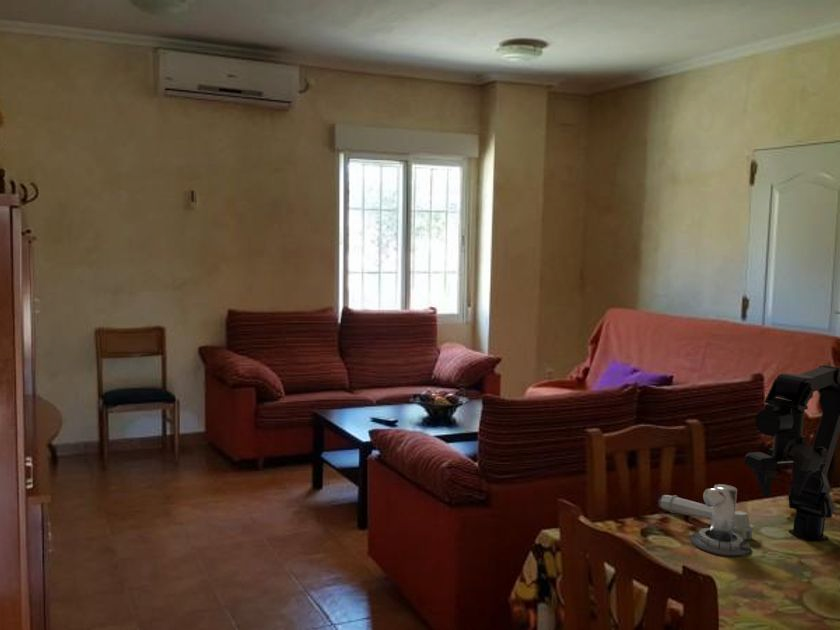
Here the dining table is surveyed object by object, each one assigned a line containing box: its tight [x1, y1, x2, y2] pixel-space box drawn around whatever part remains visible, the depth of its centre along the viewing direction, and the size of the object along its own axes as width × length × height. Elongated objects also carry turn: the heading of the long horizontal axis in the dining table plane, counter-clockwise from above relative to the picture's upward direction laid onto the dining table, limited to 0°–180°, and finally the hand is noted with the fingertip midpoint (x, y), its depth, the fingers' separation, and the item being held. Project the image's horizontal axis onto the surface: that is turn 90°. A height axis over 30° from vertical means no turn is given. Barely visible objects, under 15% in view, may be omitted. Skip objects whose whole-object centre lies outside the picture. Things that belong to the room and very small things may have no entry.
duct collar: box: [690, 527, 751, 558], centre depth 183 cm, size 13×13×2 cm
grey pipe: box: [658, 494, 754, 540], centre depth 197 cm, size 5×7×25 cm
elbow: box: [702, 483, 738, 542], centre depth 182 cm, size 7×5×13 cm
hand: (781, 496), depth 180 cm, fingers open, 9 cm apart
